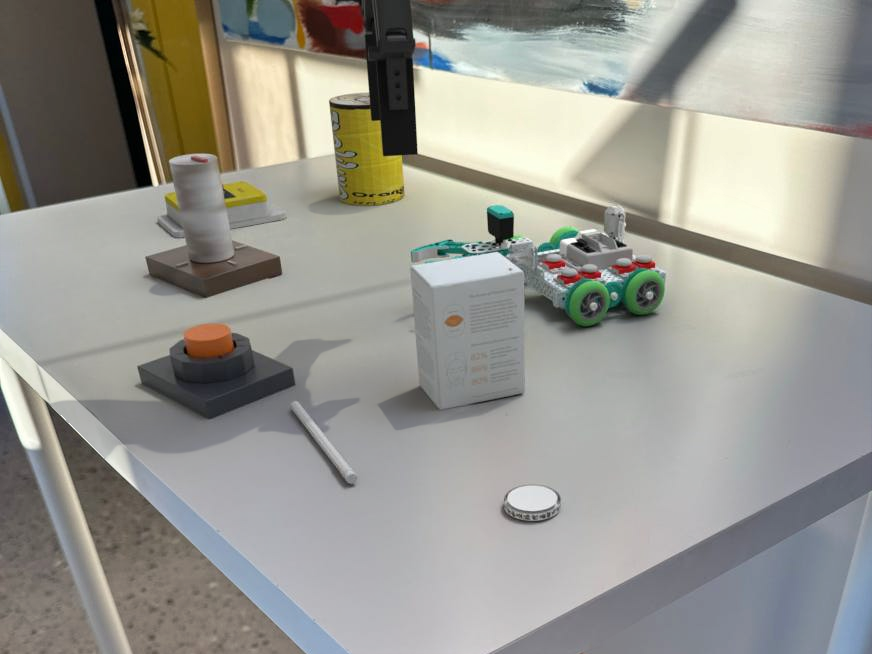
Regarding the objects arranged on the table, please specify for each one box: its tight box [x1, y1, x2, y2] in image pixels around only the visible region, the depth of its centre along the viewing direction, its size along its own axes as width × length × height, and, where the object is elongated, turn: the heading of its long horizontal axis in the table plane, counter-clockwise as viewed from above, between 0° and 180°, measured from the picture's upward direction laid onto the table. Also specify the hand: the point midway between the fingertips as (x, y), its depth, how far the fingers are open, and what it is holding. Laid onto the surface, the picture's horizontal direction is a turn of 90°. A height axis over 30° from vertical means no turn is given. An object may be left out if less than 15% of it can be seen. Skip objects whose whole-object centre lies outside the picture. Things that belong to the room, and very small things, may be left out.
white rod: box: [290, 400, 358, 485], centre depth 77 cm, size 1×1×15 cm
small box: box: [409, 252, 526, 411], centre depth 81 cm, size 8×6×10 cm
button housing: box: [136, 332, 296, 420], centre depth 85 cm, size 11×9×4 cm
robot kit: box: [410, 204, 667, 327], centre depth 98 cm, size 19×25×9 cm
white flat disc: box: [503, 484, 562, 522], centre depth 68 cm, size 4×4×1 cm
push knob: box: [183, 322, 234, 358], centre depth 84 cm, size 4×4×2 cm
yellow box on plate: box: [156, 180, 287, 239], centre depth 126 cm, size 9×4×15 cm
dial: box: [168, 153, 234, 263], centre depth 106 cm, size 5×5×10 cm
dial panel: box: [144, 239, 283, 299], centre depth 109 cm, size 12×10×2 cm
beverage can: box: [328, 91, 405, 206], centre depth 130 cm, size 9×9×12 cm
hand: (392, 136), depth 81 cm, fingers open, 13 cm apart
